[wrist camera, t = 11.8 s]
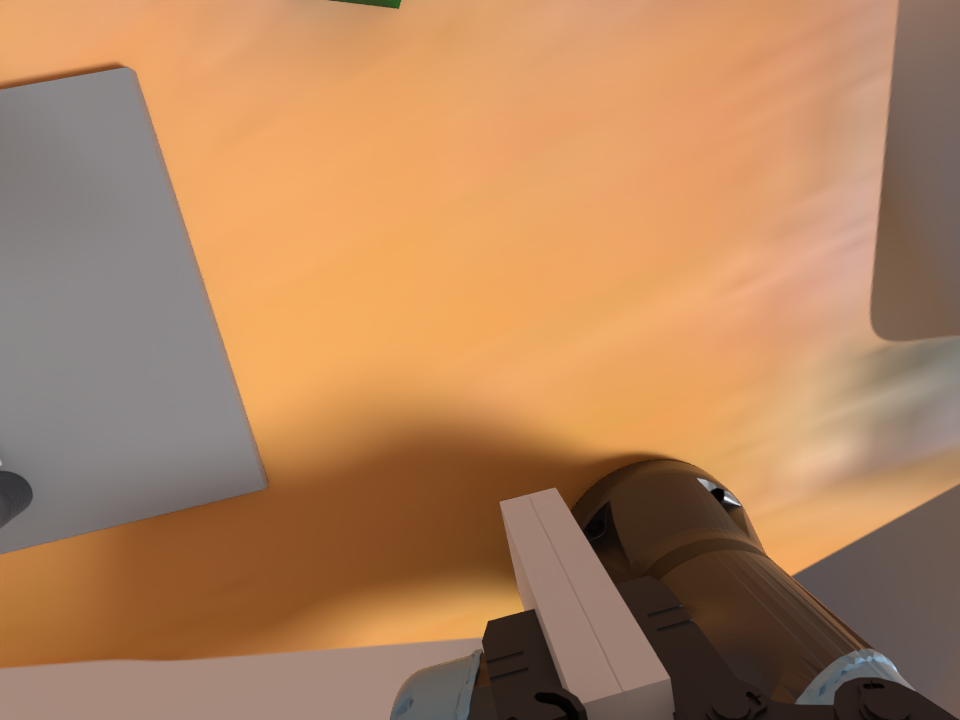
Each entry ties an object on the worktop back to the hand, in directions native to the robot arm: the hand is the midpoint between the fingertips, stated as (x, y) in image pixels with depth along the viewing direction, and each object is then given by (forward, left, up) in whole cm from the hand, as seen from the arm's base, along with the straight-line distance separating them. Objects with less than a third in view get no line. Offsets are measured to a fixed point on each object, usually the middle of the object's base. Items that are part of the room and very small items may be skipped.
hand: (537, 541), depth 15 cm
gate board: (+6, +25, -26) cm, 37 cm away
